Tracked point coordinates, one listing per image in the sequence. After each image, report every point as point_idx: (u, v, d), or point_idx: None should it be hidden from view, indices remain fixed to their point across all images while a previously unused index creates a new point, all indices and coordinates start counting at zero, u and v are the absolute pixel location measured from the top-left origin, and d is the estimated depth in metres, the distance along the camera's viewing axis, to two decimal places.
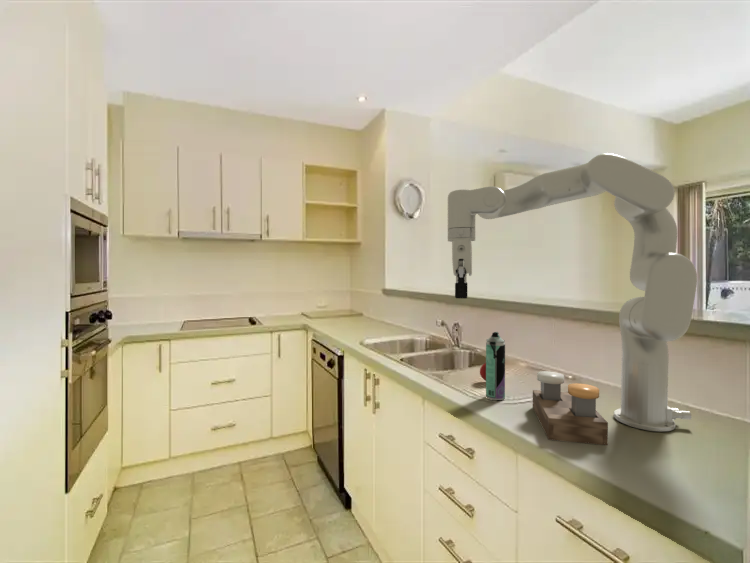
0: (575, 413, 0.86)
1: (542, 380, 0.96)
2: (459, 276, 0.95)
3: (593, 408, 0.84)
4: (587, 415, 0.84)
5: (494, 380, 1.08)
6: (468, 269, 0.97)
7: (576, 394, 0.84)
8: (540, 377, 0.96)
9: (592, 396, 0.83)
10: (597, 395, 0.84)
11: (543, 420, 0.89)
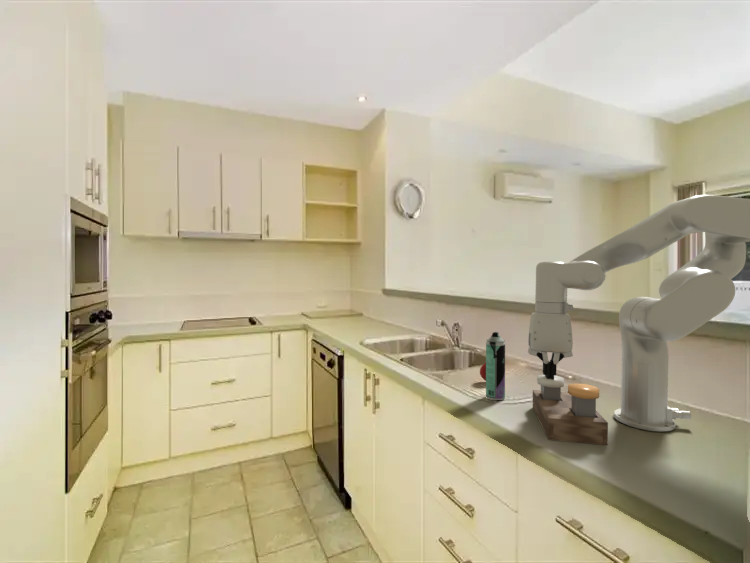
0: (575, 413, 0.86)
1: (542, 383, 0.96)
2: None
3: (593, 408, 0.84)
4: (587, 415, 0.84)
5: (494, 380, 1.08)
6: None
7: (576, 394, 0.84)
8: (540, 381, 0.96)
9: (592, 396, 0.83)
10: (597, 395, 0.84)
11: (543, 420, 0.89)
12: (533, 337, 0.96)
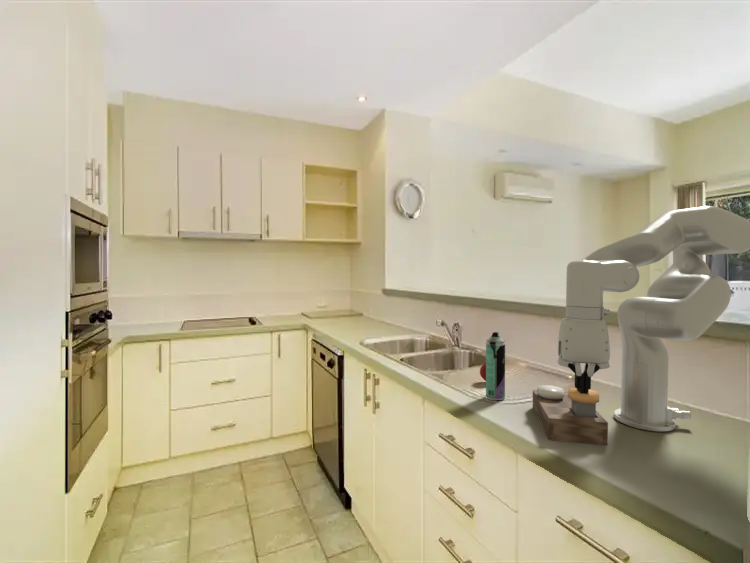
0: None
1: (542, 395, 0.96)
2: None
3: (593, 412, 0.84)
4: None
5: (494, 380, 1.08)
6: None
7: (576, 398, 0.84)
8: (540, 392, 0.96)
9: (592, 400, 0.83)
10: (597, 399, 0.84)
11: (543, 420, 0.89)
12: (564, 346, 0.85)
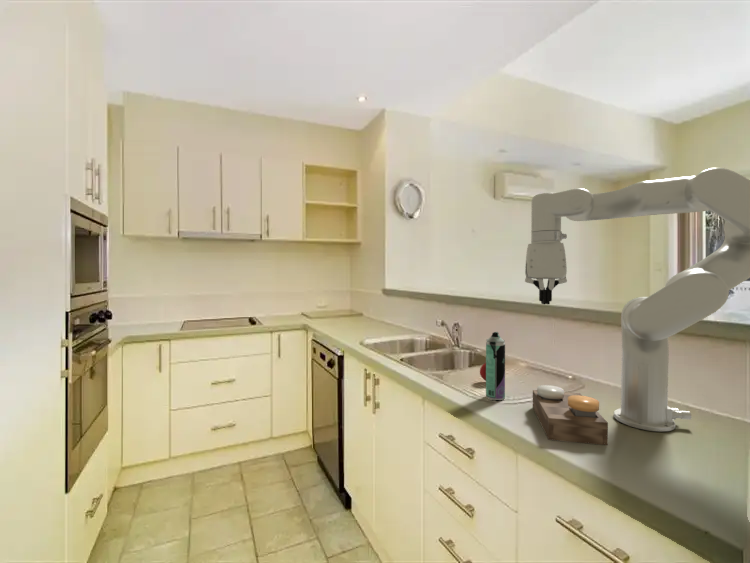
0: None
1: (542, 395, 0.96)
2: None
3: None
4: None
5: (494, 380, 1.08)
6: None
7: (576, 407, 0.84)
8: (540, 392, 0.96)
9: (592, 409, 0.83)
10: (597, 408, 0.84)
11: (543, 420, 0.89)
12: (529, 265, 1.02)
